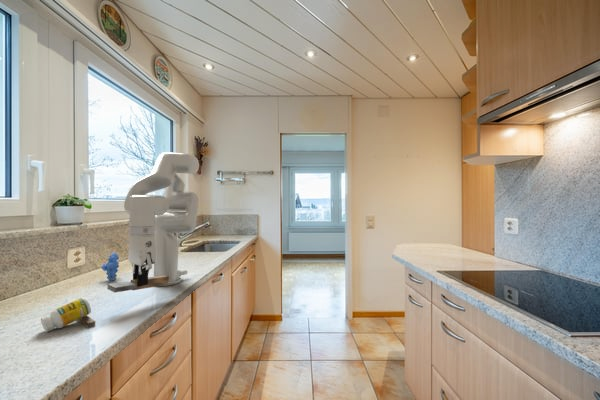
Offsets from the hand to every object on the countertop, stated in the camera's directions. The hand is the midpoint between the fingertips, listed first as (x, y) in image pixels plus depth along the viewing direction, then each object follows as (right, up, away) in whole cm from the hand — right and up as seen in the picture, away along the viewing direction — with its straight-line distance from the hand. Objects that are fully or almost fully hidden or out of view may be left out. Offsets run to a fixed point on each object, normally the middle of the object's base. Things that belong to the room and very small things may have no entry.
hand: (140, 284), depth 88 cm
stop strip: (-8, -7, -13) cm, 17 cm away
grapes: (-32, -8, +28) cm, 43 cm away
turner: (0, -1, -1) cm, 1 cm away
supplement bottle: (-8, -2, -12) cm, 15 cm away
